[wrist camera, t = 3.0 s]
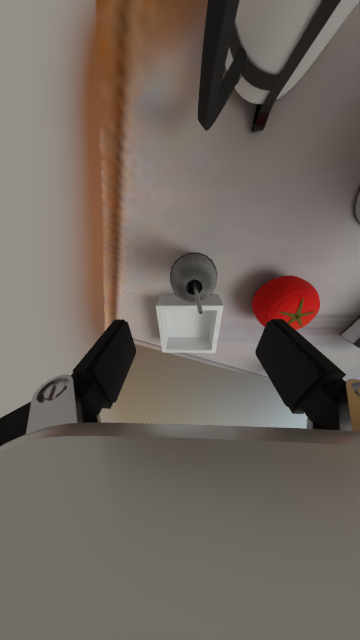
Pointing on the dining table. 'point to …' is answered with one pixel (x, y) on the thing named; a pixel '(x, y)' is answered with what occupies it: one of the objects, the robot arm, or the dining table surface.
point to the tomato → (286, 301)
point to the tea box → (353, 334)
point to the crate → (189, 324)
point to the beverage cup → (193, 278)
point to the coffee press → (262, 50)
